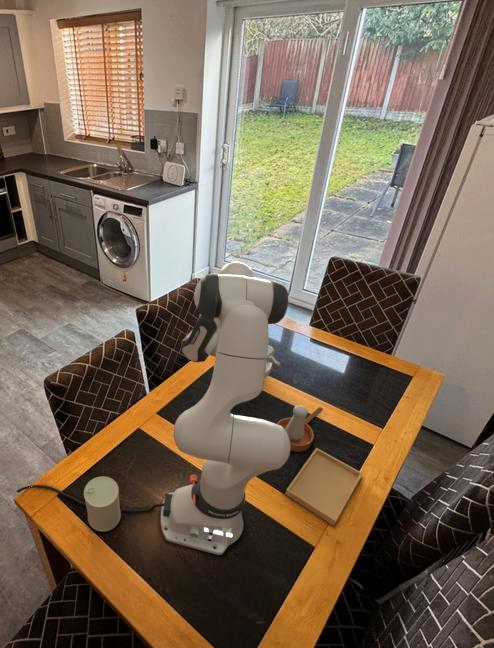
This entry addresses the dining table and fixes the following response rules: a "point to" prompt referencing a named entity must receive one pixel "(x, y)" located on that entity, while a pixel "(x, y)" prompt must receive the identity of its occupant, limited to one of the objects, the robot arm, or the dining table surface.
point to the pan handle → (313, 415)
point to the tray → (324, 485)
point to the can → (102, 503)
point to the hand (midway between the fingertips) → (271, 372)
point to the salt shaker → (297, 423)
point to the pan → (304, 441)
